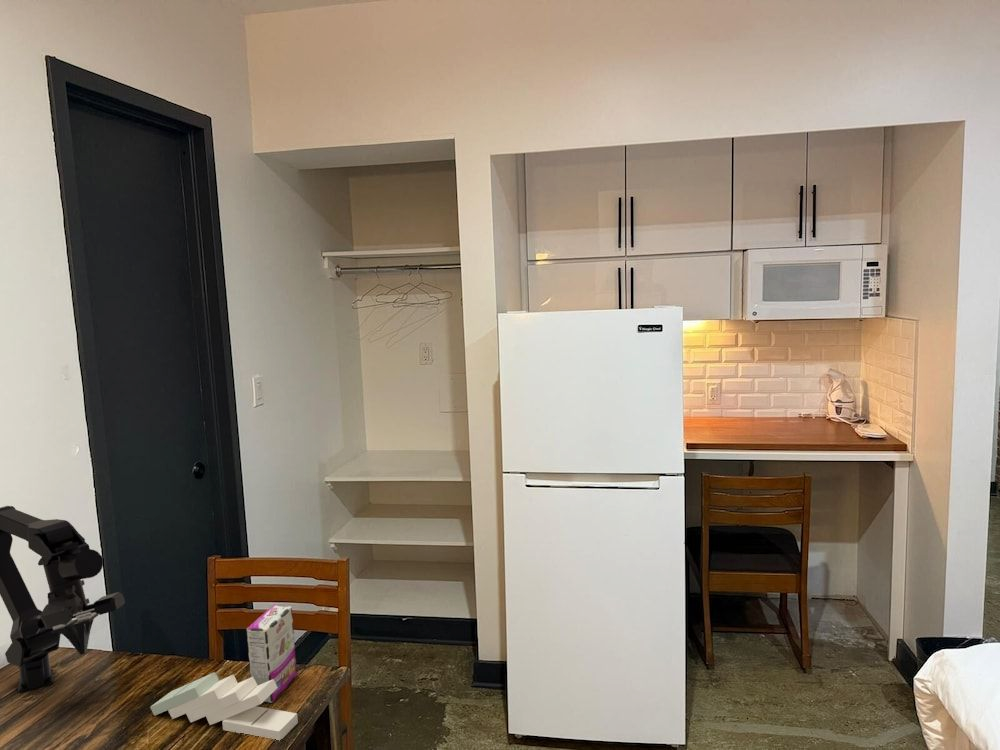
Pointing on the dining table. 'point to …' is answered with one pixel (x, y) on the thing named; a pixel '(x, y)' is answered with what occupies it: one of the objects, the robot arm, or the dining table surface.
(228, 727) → the ivory domino
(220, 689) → the ivory domino
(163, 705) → the sage domino
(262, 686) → the ivory domino
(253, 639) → the candy bar box
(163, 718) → the dining table surface
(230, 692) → the ivory domino
